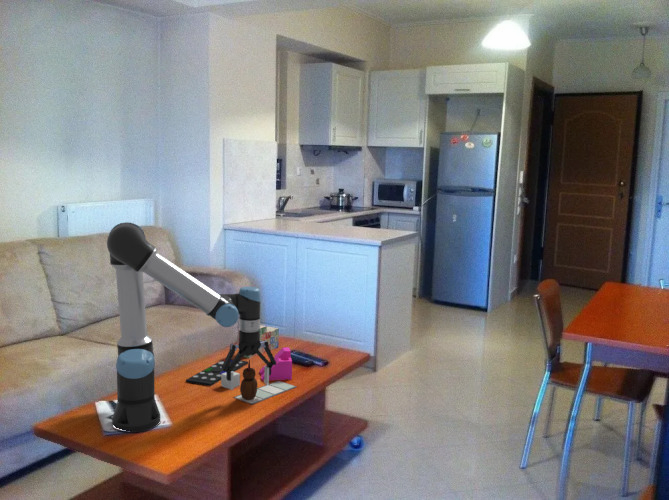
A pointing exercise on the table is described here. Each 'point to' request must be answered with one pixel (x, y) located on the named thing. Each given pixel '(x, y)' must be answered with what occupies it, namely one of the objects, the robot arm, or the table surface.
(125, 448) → the table surface
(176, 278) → the robot arm
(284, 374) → the bracket
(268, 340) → the stack of blocks
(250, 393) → the wooden figurine
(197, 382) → the remote control
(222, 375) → the die
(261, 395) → the game mat
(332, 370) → the table surface
